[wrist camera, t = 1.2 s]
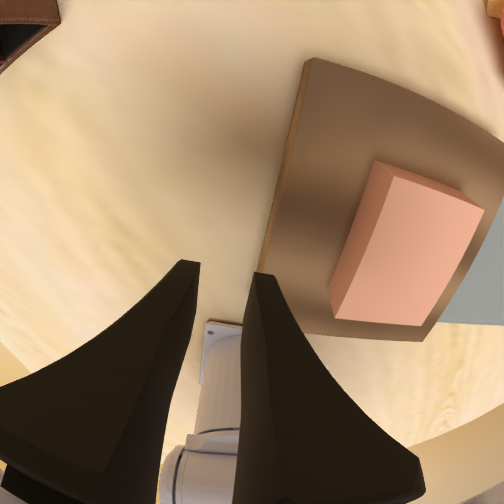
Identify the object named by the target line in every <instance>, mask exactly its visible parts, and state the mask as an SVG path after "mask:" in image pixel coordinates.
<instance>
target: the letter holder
mask: <svg viewBox="0 0 504 504" xmlns="http://www.w3.org/2000/svg"><path fill="white" fill-rule="evenodd" d="M57 8H58V6H57V4H56V0H0V74H1V73H2V72H3V71H4V70H5V69H6V68H7V67H8V66H9V65H10V64H11V63H12V62H13V61H14V60H15V59H17V58H18V57H19V56H20V55H22V54H23V53H24V52H25V51H26V50H27V49H28V48H30V47H31V46H32V45H34V44H35V43H36V42H37V41H38V40H40V39H41V38H42V37H43V36H45V35H46V34H47V33H49V32H50V31H52V30H53V29H54V28H56V27H57V26H58V25H59V24H60V18H59V14H58V9H57Z"/></svg>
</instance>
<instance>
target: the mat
mask: <svg viewBox="0 0 504 504" xmlns="http://www.w3.org/2000/svg"><path fill="white" fill-rule="evenodd" d="M437 322H447V323H462V324H480V325H502V326H504V197H503V199H502V202H501V204H500V207H499V209H498V211H497V214H496V216H495V218H494V220H493V223H492V225H491V227H490V229H489V231H488V234H487V236H486V238H485V240H484V242H483V244H482V246H481V248H480V250H479V252H478V254H477V256H476V257H475V259H474V261H473V263H472V265H471V267H470V269H469V270H468V272H467V274H466V276H465V277H464V279H463V281H462V283H461V284H460V286H459V288H458V289H457V291H456V293H455V294H454V296H453V297H452V299H451V301H450V302H449V304H448V305H447V307H446V308H445V310H444V312H443V313H442V315H441V316H440V318H439V319H438V320H437Z"/></svg>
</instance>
